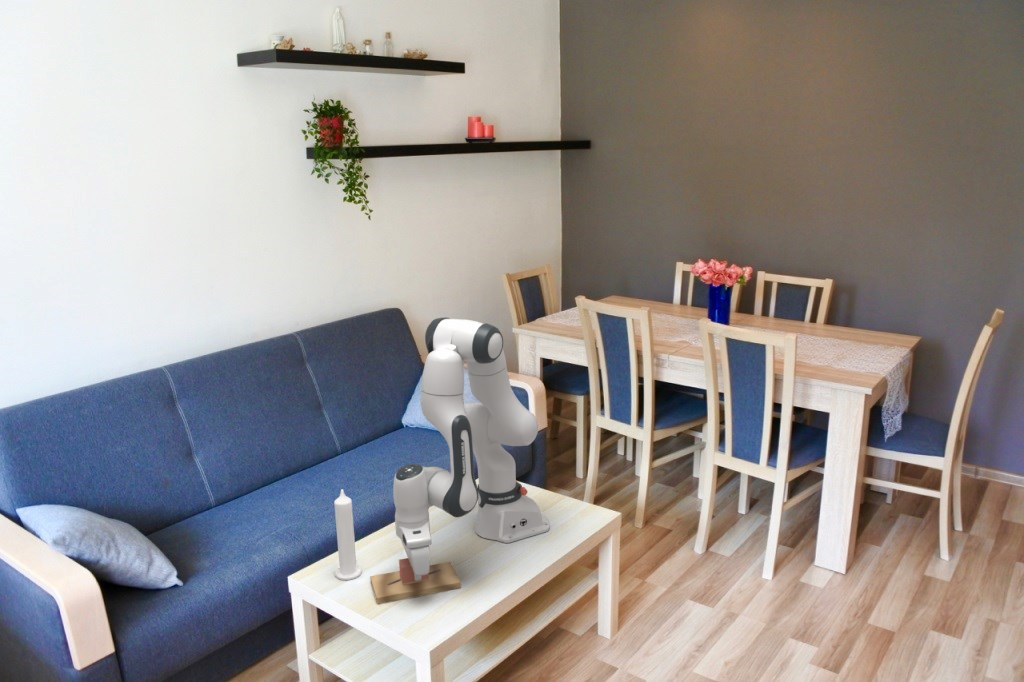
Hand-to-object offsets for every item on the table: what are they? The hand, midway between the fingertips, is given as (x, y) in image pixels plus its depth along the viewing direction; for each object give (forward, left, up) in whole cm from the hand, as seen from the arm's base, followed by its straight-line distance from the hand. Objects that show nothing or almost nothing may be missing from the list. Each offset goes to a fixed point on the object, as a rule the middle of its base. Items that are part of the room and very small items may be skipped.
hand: (415, 573), depth 215 cm
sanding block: (0, 0, -1) cm, 1 cm away
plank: (0, 0, -3) cm, 3 cm away
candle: (+16, -12, -4) cm, 20 cm away
